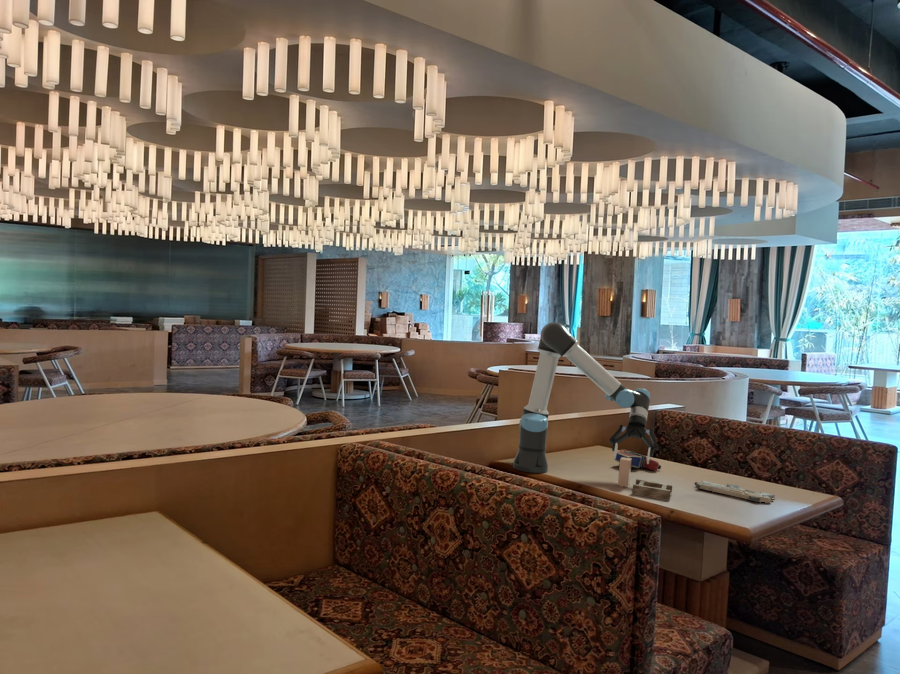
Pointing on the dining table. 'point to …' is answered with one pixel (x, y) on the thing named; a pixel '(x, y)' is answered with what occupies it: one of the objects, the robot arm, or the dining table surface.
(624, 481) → the strip
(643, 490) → the rack
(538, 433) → the robot arm
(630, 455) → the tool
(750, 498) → the grey flat slab
